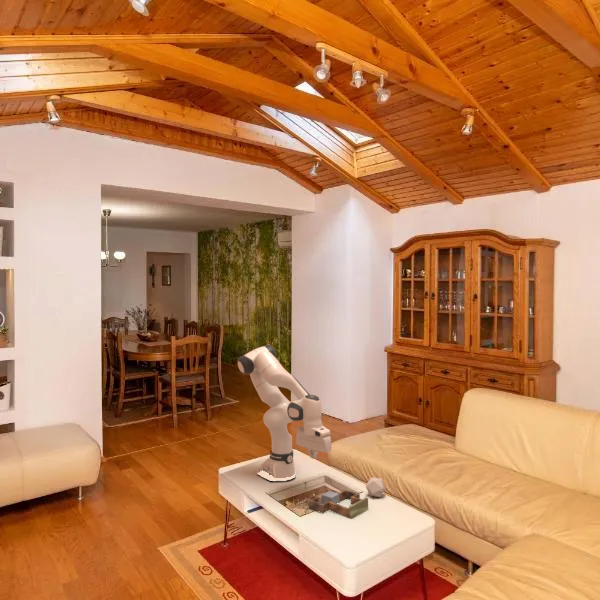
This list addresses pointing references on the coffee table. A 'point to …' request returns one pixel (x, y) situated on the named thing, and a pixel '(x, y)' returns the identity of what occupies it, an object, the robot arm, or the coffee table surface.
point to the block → (330, 497)
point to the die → (375, 487)
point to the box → (351, 512)
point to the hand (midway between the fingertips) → (313, 458)
